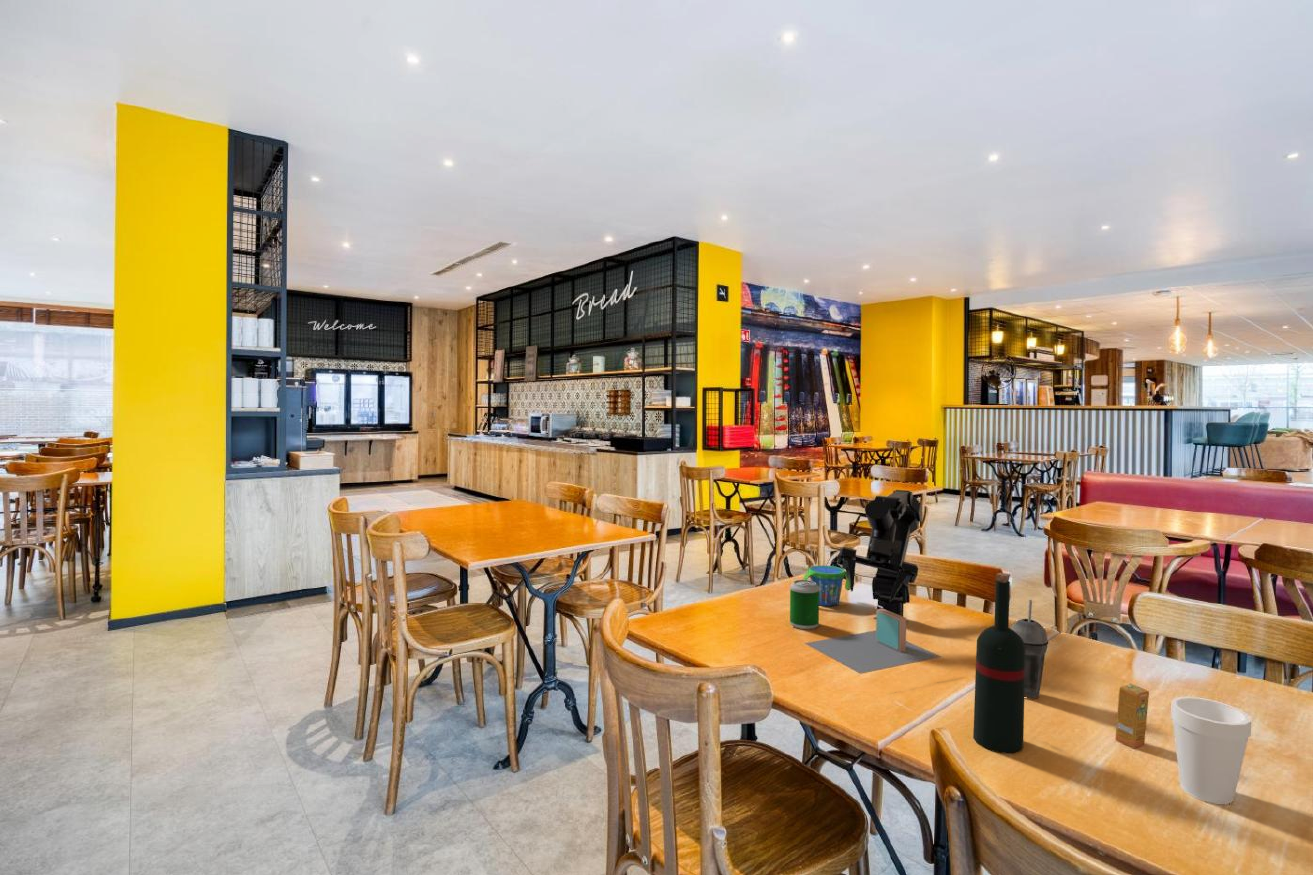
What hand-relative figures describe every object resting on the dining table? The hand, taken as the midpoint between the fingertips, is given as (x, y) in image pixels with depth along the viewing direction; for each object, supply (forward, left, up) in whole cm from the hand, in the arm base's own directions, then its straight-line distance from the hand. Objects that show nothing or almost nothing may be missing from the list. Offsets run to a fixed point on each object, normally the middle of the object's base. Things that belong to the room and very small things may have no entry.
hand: (871, 596), depth 163 cm
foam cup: (-5, +69, -13) cm, 70 cm away
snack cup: (-13, -33, -13) cm, 38 cm away
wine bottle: (+10, +45, -13) cm, 47 cm away
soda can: (+6, -18, -13) cm, 23 cm away
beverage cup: (-11, +34, -13) cm, 38 cm away
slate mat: (+2, +3, -13) cm, 13 cm away
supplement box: (-10, +55, -13) cm, 57 cm away
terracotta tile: (-4, +3, -12) cm, 13 cm away
